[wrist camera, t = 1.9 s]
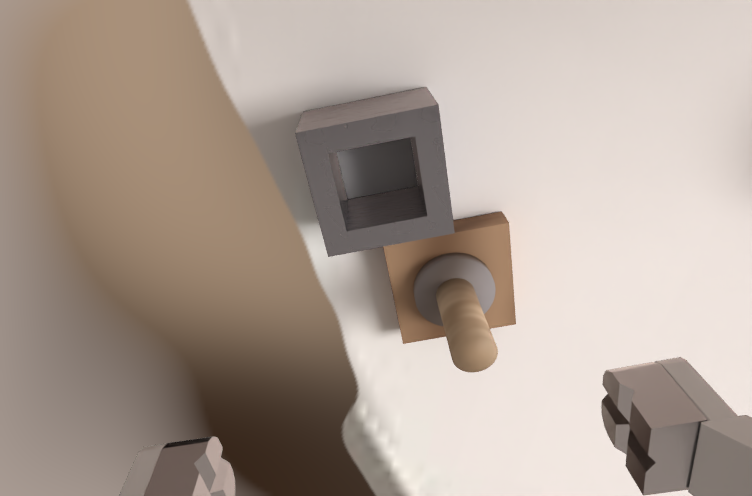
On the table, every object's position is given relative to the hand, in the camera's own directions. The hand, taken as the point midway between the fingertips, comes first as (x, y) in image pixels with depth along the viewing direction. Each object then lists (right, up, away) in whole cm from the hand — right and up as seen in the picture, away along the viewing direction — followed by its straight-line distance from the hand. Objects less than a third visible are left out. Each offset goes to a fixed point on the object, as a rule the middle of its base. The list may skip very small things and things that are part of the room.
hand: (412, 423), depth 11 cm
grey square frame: (-1, +8, +17) cm, 19 cm away
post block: (+4, +2, +20) cm, 21 cm away
